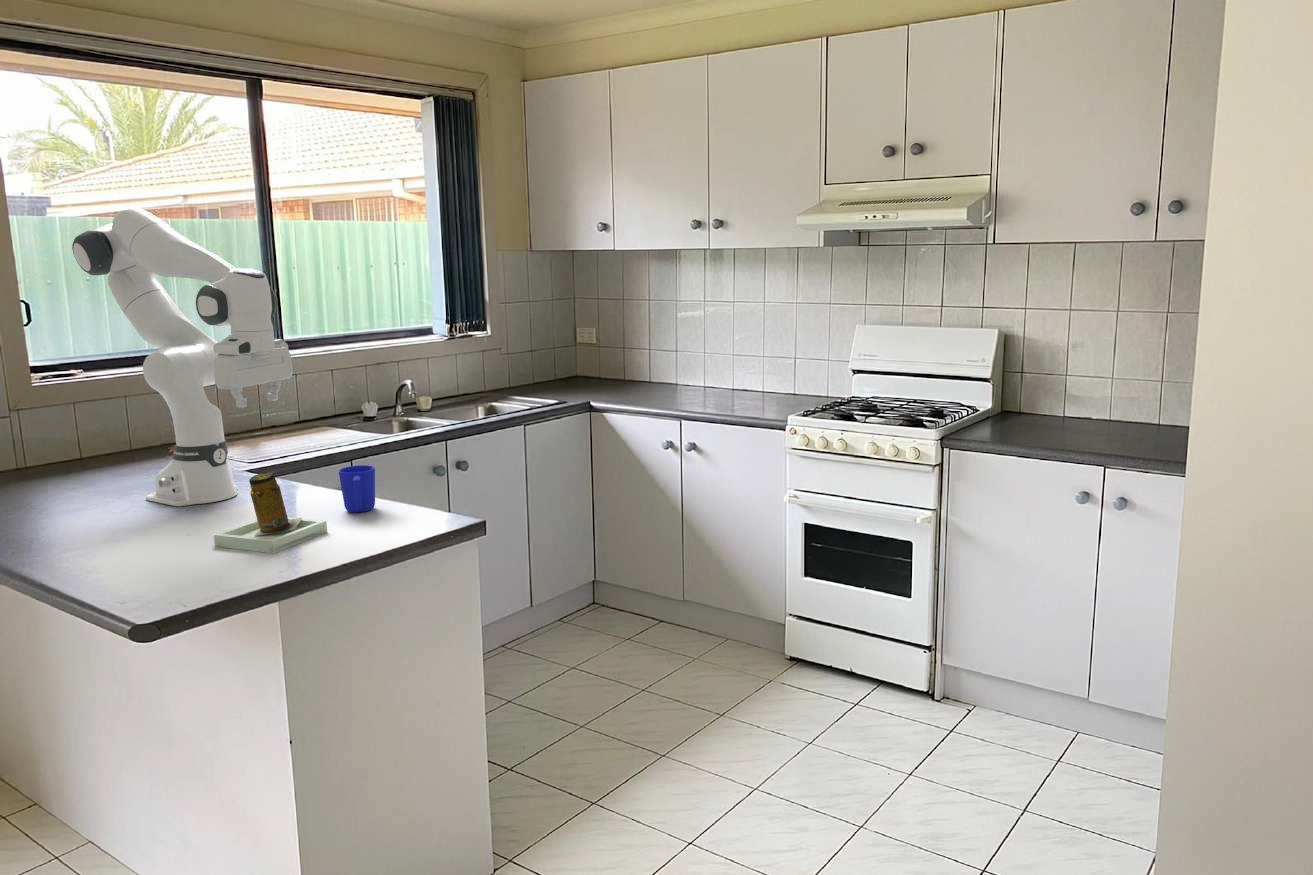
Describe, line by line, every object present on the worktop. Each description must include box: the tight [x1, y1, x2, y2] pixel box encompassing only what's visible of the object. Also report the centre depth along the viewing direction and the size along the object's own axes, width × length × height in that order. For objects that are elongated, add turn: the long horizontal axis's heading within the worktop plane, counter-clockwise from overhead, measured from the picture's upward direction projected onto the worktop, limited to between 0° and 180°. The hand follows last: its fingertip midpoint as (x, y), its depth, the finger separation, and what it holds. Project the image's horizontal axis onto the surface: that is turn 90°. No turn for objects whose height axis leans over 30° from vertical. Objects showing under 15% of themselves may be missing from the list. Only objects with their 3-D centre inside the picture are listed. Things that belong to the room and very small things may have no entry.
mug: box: [338, 464, 376, 514], centre depth 233 cm, size 8×12×10 cm
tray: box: [213, 516, 328, 554], centre depth 214 cm, size 16×16×2 cm
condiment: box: [249, 472, 303, 536], centre depth 214 cm, size 7×8×12 cm
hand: (257, 403), depth 225 cm, fingers open, 8 cm apart
